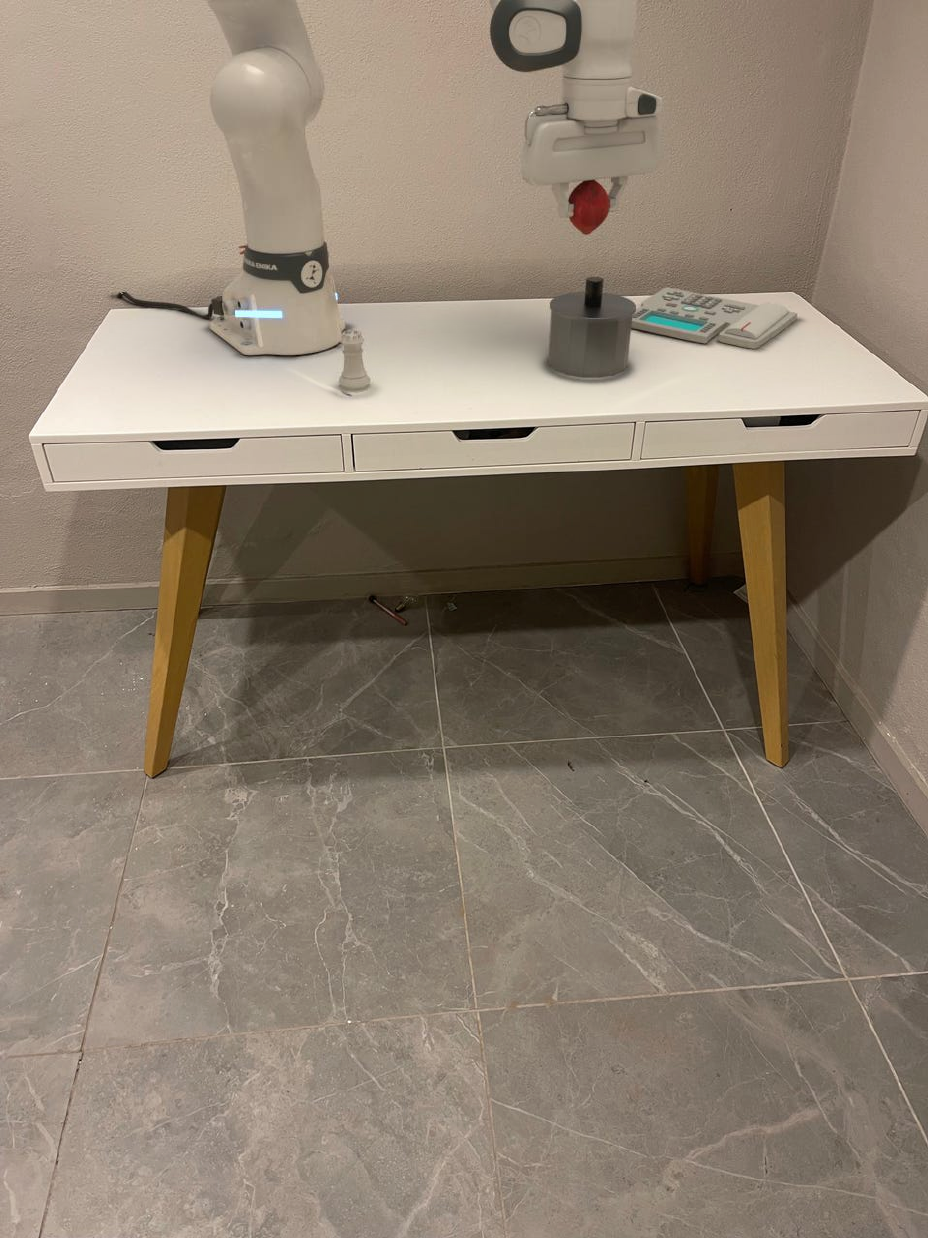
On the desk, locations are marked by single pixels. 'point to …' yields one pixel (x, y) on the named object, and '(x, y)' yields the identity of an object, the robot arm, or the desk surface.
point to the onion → (589, 206)
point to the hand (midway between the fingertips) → (588, 213)
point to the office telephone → (711, 318)
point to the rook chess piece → (353, 364)
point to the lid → (593, 304)
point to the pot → (589, 346)
